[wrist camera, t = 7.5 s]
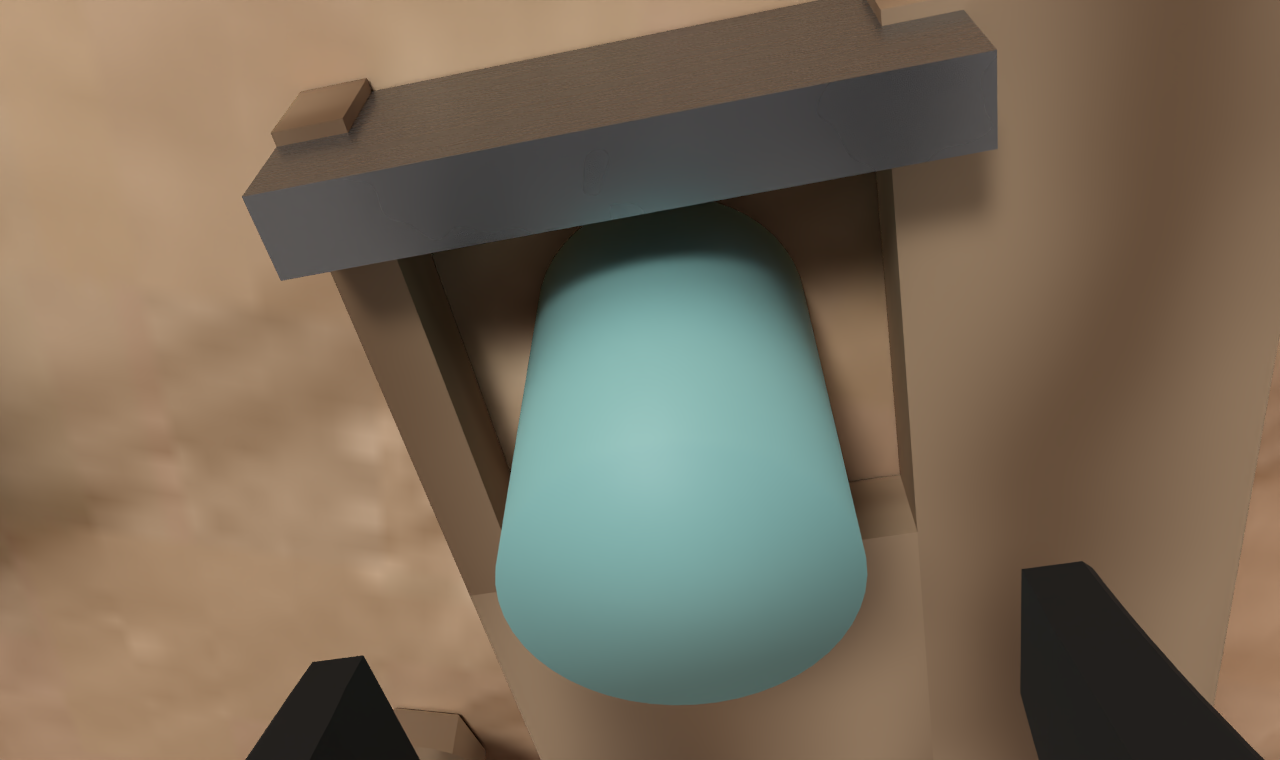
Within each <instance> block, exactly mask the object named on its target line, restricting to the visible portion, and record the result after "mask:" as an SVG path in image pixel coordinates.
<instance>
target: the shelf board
mask: <svg viewBox="0 0 1280 760" xmlns="http://www.w3.org/2000/svg"><path fill="white" fill-rule="evenodd" d="M867 2H868V3H869V5H870V7H871V8H872V10H873V12H874V13H875V15H876V17H877V19H878V20H879V22H880V24H881V25H882V26H884V25H889V24H894V23H899V22H904V21H909V20H914V19H919V18H924V17H929V16H934V15H939V14H944V13H949V12H955V11H960V10H964V11H965V12H966V13H967V14H968V15H969V17H970V18H971V19H972V20H973V21H974V23H975V24H976V25H977V26H978V27H979V29H980V30H981V31H982V32H983V33H984V35H985V36H986V37H987V38H988V39H989V41H990V42H991V43H992V44H993V46H994V47H995V48H996V49H997V115H998V149H995V150H989V151H984V152H979V153H973V154H968V155H962V156H957V157H951V158H946V159H941V160H935V161H930V162H924V163H919V164H913V165H908V166H902V167H897V168H892V169H886V170H881V171H876V179H877V192H878V204H879V217H880V229H881V242H882V254H883V267H884V279H885V292H886V304H887V317H888V329H889V342H890V355H891V367H892V380H893V392H894V405H895V417H896V430H897V442H898V455H899V467H900V475H894V476H887V477H881V478H874V479H867V480H861V481H854V482H849V486H850V491H851V495H852V499H853V503H854V508H855V512H856V516H857V520H858V525H859V529H860V533H861V537H862V542H863V546H864V550H865V554H866V562H867V582H866V591H865V594H864V598H863V601H862V604H861V608H860V610H859V612H858V614H857V616H856V618H855V620H854V622H853V624H852V625H851V627H850V628H849V629H848V631H847V632H846V634H845V635H844V636H843V638H842V639H841V640H840V641H839V642H838V643H837V644H836V645H835V647H834V648H833V649H832V650H831V651H830V652H829V653H828V654H826V655H825V656H824V657H823V658H821V659H820V660H819V661H818V662H817V663H815V664H814V665H813V666H811V667H810V668H808V669H806V670H805V671H803V672H802V673H800V674H799V675H797V676H795V677H793V678H791V679H789V680H787V681H785V682H783V683H781V684H779V685H777V686H774V687H772V688H769V689H767V690H764V691H761V692H759V693H755V694H752V695H748V696H745V697H741V698H737V699H732V700H727V701H722V702H716V703H707V704H697V705H661V704H648V703H642V702H635V701H629V700H624V699H620V698H616V697H612V696H608V695H605V694H602V693H599V692H596V691H593V690H590V689H588V688H585V687H583V686H581V685H579V684H576V683H574V682H572V681H570V680H568V679H566V678H565V677H563V676H561V675H559V674H558V673H556V672H554V671H553V670H551V669H550V668H549V667H547V666H546V665H545V664H543V663H542V662H540V661H539V660H538V659H537V658H536V657H535V656H534V655H533V654H531V653H530V652H529V651H528V650H527V649H526V648H525V647H524V646H523V644H522V643H521V642H520V641H519V639H518V638H517V637H516V636H515V634H514V633H513V632H512V630H511V628H510V626H509V625H508V623H507V621H506V619H505V618H504V615H503V612H502V610H501V607H500V604H499V601H498V596H497V591H496V585H495V571H496V561H497V555H498V549H499V543H500V536H501V530H502V524H503V518H504V512H505V505H506V499H507V493H508V487H509V481H510V471H509V469H508V466H507V463H506V460H505V458H504V455H503V452H502V449H501V447H500V444H499V441H498V438H497V436H496V433H495V430H494V427H493V425H492V422H491V419H490V416H489V414H488V411H487V408H486V405H485V402H484V400H483V397H482V394H481V391H480V389H479V386H478V383H477V380H476V378H475V375H474V372H473V369H472V367H471V364H470V361H469V358H468V356H467V353H466V350H465V347H464V345H463V342H462V339H461V336H460V334H459V331H458V328H457V325H456V323H455V320H454V317H453V314H452V312H451V309H450V306H449V303H448V301H447V298H446V295H445V292H444V290H443V287H442V284H441V281H440V279H439V276H438V273H437V270H436V268H435V265H434V262H433V259H432V257H431V254H430V253H429V254H423V255H418V256H413V257H407V258H402V259H396V260H391V261H385V262H380V263H374V264H369V265H364V266H358V267H353V268H347V269H342V270H336V271H331V274H332V276H333V279H334V281H335V283H336V286H337V288H338V290H339V293H340V295H341V297H342V300H343V302H344V304H345V307H346V309H347V311H348V314H349V316H350V318H351V320H352V323H353V325H354V327H355V330H356V332H357V334H358V337H359V339H360V341H361V344H362V346H363V348H364V351H365V353H366V355H367V358H368V360H369V362H370V365H371V367H372V369H373V372H374V374H375V376H376V379H377V381H378V383H379V386H380V388H381V390H382V392H383V395H384V397H385V399H386V402H387V404H388V406H389V409H390V411H391V413H392V416H393V418H394V420H395V423H396V425H397V427H398V430H399V432H400V434H401V437H402V439H403V441H404V444H405V446H406V448H407V451H408V453H409V455H410V457H411V460H412V462H413V464H414V467H415V469H416V471H417V474H418V476H419V478H420V481H421V483H422V485H423V488H424V490H425V492H426V495H427V497H428V499H429V502H430V504H431V506H432V509H433V511H434V513H435V516H436V518H437V520H438V523H439V525H440V527H441V529H442V532H443V534H444V536H445V539H446V541H447V543H448V546H449V548H450V550H451V553H452V555H453V557H454V560H455V562H456V564H457V567H458V569H459V571H460V574H461V576H462V578H463V581H464V583H465V585H466V588H467V590H468V592H469V594H470V597H471V599H472V601H473V604H474V606H475V608H476V611H477V613H478V615H479V618H480V620H481V622H482V625H483V627H484V629H485V632H486V634H487V636H488V639H489V641H490V643H491V646H492V648H493V650H494V653H495V655H496V657H497V660H498V662H499V664H500V666H501V669H502V671H503V673H504V676H505V678H506V680H507V683H508V685H509V687H510V690H511V692H512V694H513V697H514V699H515V701H516V704H517V706H518V708H519V711H520V713H521V715H522V718H523V720H524V722H525V725H526V727H527V729H528V732H529V734H530V736H531V738H532V741H533V743H534V745H535V748H536V750H537V752H538V755H539V757H540V759H541V760H1039V759H1038V755H1037V752H1036V748H1035V745H1034V741H1033V738H1032V734H1031V730H1030V727H1029V723H1028V719H1027V716H1026V712H1025V709H1024V705H1023V701H1022V698H1021V694H1020V666H1021V569H1026V568H1033V567H1041V566H1049V565H1056V564H1064V563H1071V562H1079V561H1083V562H1085V563H1086V564H1088V565H1089V566H1091V567H1092V568H1093V569H1094V570H1095V571H1096V573H1097V574H1098V575H1099V577H1100V578H1101V579H1102V580H1103V582H1104V583H1105V584H1106V586H1107V587H1108V588H1109V589H1110V590H1111V592H1112V593H1113V594H1114V595H1115V597H1116V598H1117V599H1118V600H1119V602H1120V603H1121V604H1122V605H1123V606H1124V608H1125V609H1126V610H1127V611H1128V613H1129V614H1130V615H1131V616H1132V617H1133V619H1134V620H1135V621H1136V622H1137V623H1138V624H1139V626H1140V627H1141V628H1142V629H1143V630H1144V631H1145V633H1146V634H1147V635H1148V636H1149V637H1150V638H1151V640H1152V641H1153V642H1154V643H1155V644H1156V645H1157V646H1158V647H1159V649H1160V650H1161V651H1162V652H1163V653H1164V654H1165V655H1166V656H1167V658H1168V659H1169V660H1170V661H1171V662H1172V663H1173V664H1174V666H1175V667H1176V668H1177V669H1178V670H1179V671H1180V672H1181V673H1182V674H1183V676H1184V677H1185V678H1186V679H1187V680H1188V681H1189V682H1190V683H1191V684H1192V685H1193V686H1194V687H1195V689H1196V690H1197V691H1198V692H1199V693H1200V694H1201V695H1202V696H1203V697H1204V698H1205V699H1206V700H1207V701H1208V702H1209V703H1210V704H1211V705H1212V706H1214V701H1215V695H1216V689H1217V684H1218V678H1219V672H1220V667H1221V661H1222V656H1223V650H1224V644H1225V639H1226V633H1227V628H1228V622H1229V616H1230V611H1231V605H1232V600H1233V594H1234V588H1235V583H1236V577H1237V572H1238V566H1239V560H1240V555H1241V549H1242V544H1243V538H1244V532H1245V527H1246V521H1247V516H1248V510H1249V504H1250V499H1251V493H1252V487H1253V482H1254V476H1255V471H1256V465H1257V459H1258V454H1259V448H1260V443H1261V437H1262V431H1263V426H1264V420H1265V415H1266V409H1267V403H1268V398H1269V392H1270V387H1271V381H1272V375H1273V370H1274V364H1275V359H1276V353H1277V347H1278V342H1279V336H1280V0H867ZM371 92H372V91H371V89H370V86H369V83H368V80H367V78H366V79H361V80H356V81H351V82H346V83H341V84H337V85H332V86H327V87H322V88H317V89H312V90H307V91H303V92H300V94H299V95H298V96H297V98H296V99H295V100H294V102H293V103H292V104H291V106H290V107H289V109H288V110H287V111H286V113H285V114H284V115H283V117H282V118H281V120H280V121H279V122H278V124H277V125H276V126H275V128H274V129H273V131H272V132H271V135H272V137H273V139H274V142H275V144H276V146H277V147H279V146H284V145H289V144H294V143H299V142H304V141H309V140H314V139H319V138H324V137H329V136H334V135H339V134H344V133H348V132H349V130H350V128H351V126H352V125H353V123H354V121H355V120H356V118H357V116H358V114H359V113H360V111H361V109H362V107H363V106H364V104H365V102H366V101H367V99H368V97H369V95H370V94H371Z"/></svg>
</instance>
